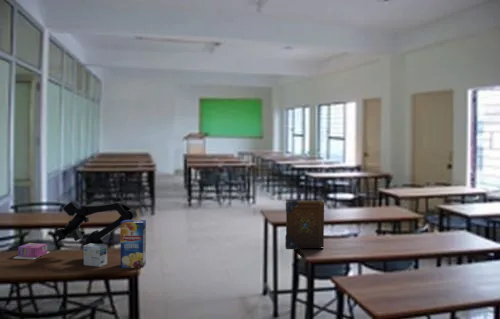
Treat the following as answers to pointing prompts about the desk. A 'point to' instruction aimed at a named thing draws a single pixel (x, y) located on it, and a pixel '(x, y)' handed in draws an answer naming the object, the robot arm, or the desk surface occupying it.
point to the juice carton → (133, 243)
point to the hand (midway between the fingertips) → (58, 241)
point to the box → (32, 250)
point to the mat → (26, 257)
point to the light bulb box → (95, 254)
